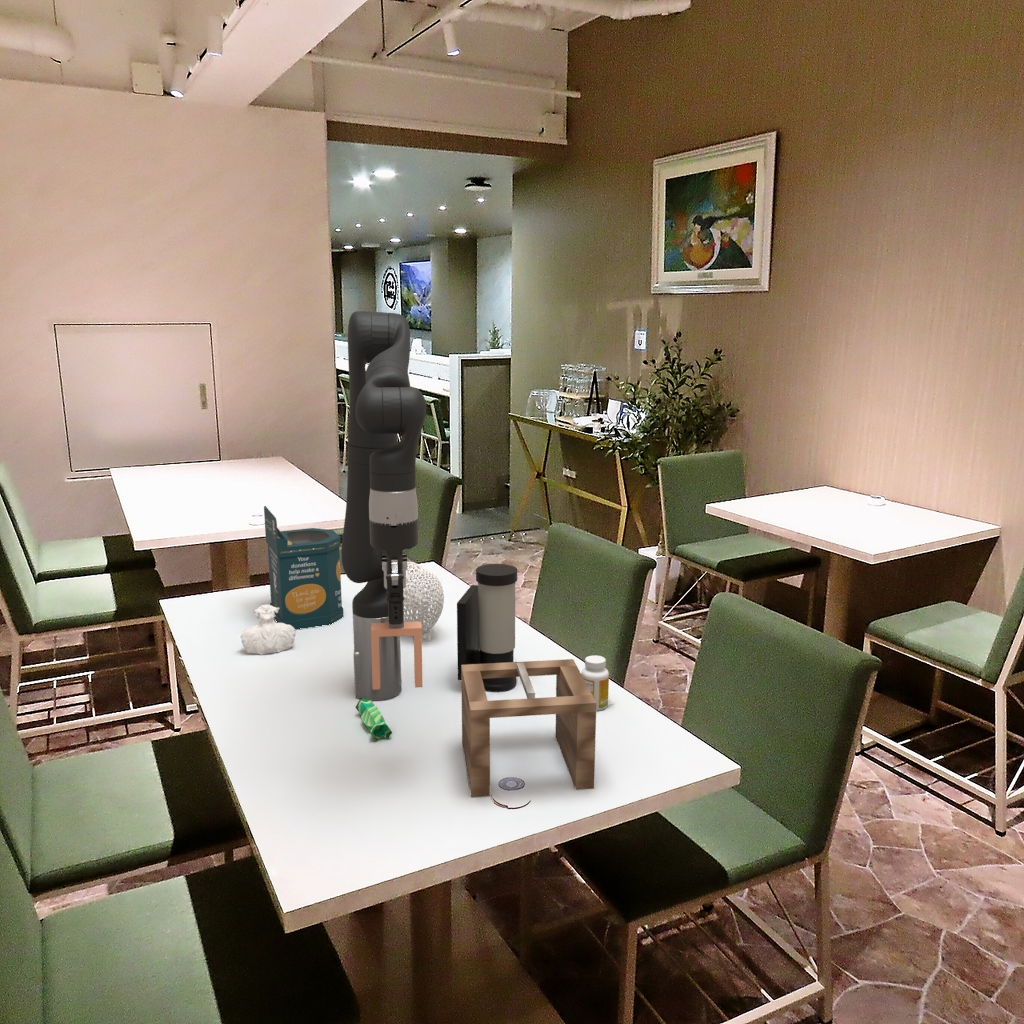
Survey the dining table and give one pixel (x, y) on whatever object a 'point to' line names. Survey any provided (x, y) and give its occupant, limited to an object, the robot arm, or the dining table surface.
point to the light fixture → (488, 622)
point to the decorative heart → (422, 597)
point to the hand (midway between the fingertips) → (395, 620)
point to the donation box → (304, 574)
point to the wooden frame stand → (568, 705)
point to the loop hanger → (396, 630)
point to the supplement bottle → (597, 679)
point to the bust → (268, 633)
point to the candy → (373, 719)
